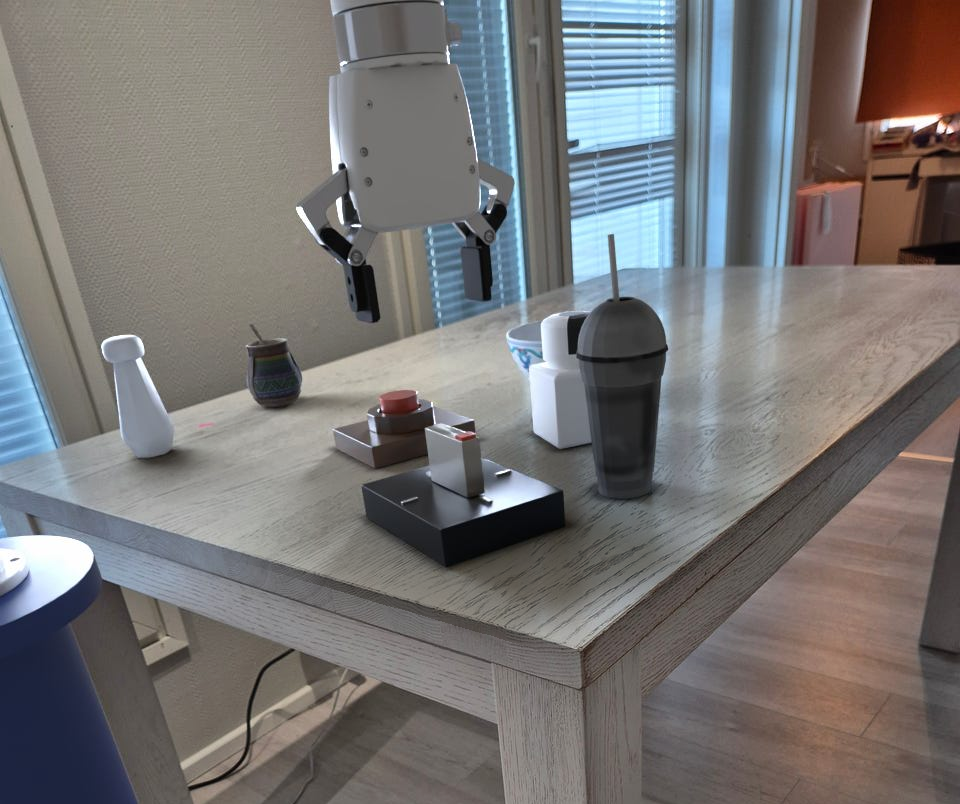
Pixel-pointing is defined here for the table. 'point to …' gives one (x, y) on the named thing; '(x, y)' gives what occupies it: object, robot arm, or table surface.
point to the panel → (463, 512)
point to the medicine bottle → (560, 383)
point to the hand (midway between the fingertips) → (425, 310)
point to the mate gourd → (272, 372)
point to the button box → (395, 434)
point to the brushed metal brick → (455, 459)
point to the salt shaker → (138, 399)
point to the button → (399, 402)
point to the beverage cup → (622, 388)
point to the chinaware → (526, 345)
